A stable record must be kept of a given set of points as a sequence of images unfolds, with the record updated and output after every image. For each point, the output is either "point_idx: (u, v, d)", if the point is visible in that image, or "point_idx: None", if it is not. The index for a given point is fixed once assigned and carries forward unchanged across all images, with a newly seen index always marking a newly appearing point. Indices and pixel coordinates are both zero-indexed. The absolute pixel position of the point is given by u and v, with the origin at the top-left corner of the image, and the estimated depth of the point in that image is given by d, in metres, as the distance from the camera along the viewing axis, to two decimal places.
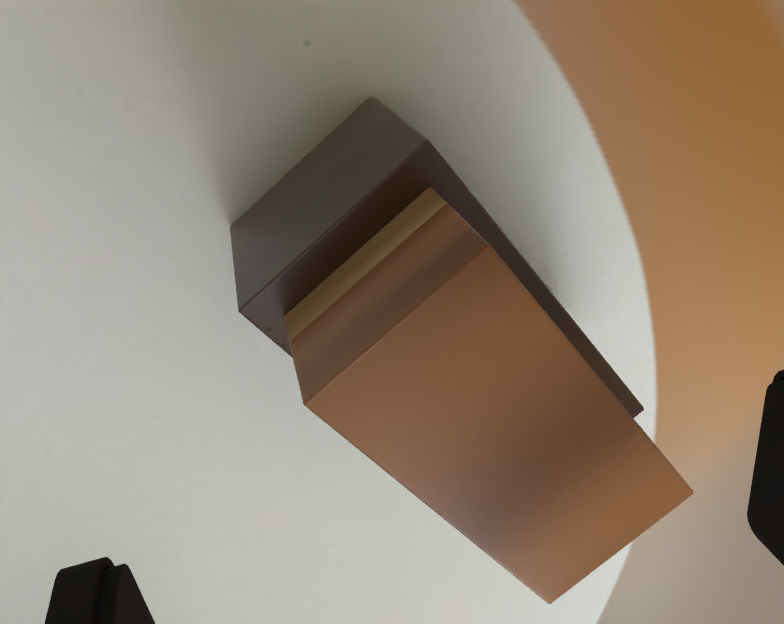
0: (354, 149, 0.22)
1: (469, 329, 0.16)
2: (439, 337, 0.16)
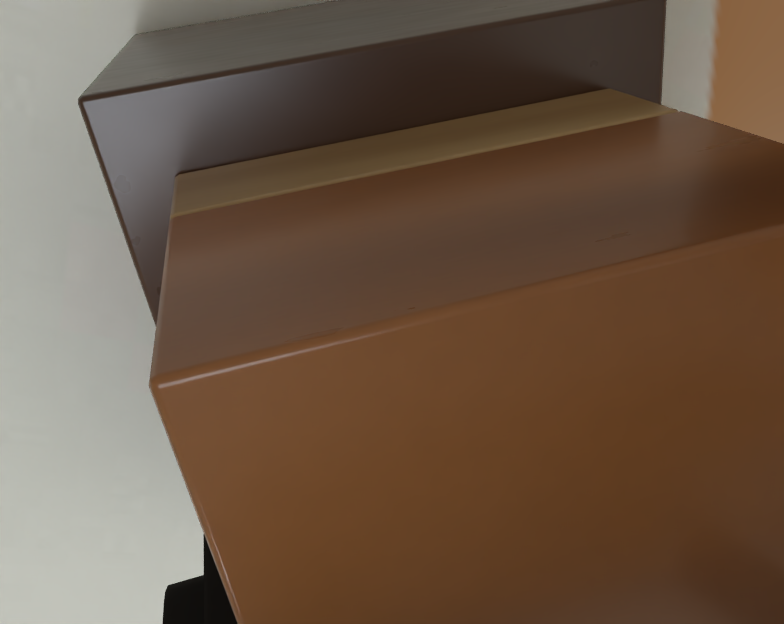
0: None
1: (723, 403, 0.05)
2: (650, 384, 0.05)
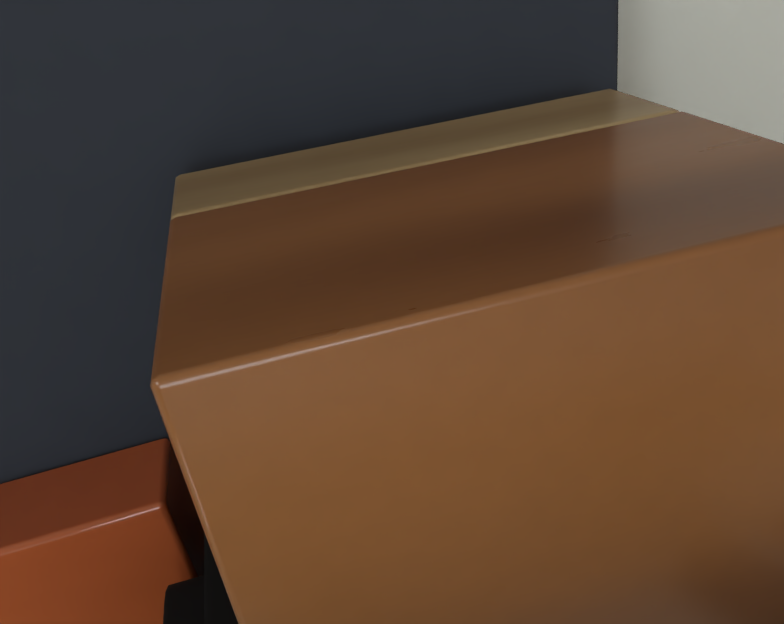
0: None
1: (724, 404, 0.05)
2: (652, 384, 0.05)
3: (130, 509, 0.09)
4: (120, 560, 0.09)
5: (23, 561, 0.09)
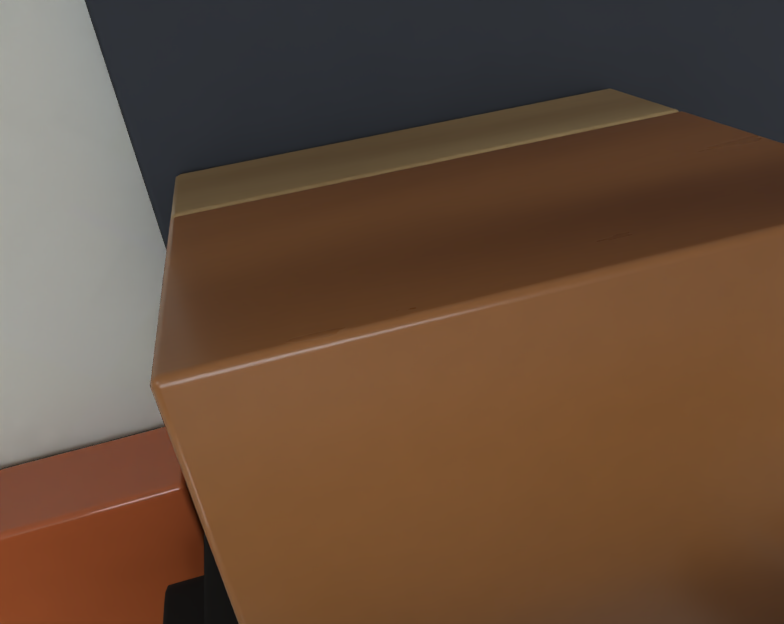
0: None
1: (724, 403, 0.05)
2: (652, 384, 0.05)
3: (151, 489, 0.09)
4: (140, 539, 0.09)
5: (46, 538, 0.09)
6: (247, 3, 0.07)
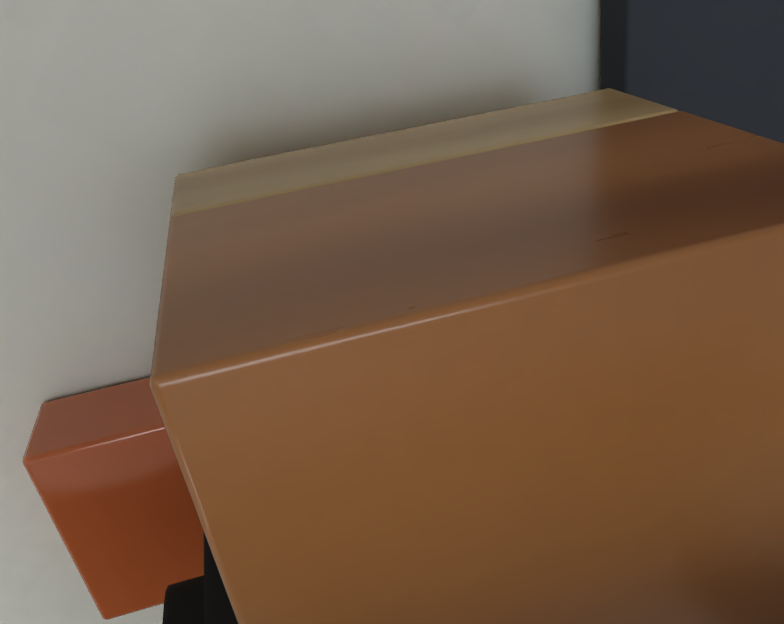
0: None
1: (723, 402, 0.05)
2: (652, 384, 0.05)
3: None
4: None
5: (144, 444, 0.10)
6: None
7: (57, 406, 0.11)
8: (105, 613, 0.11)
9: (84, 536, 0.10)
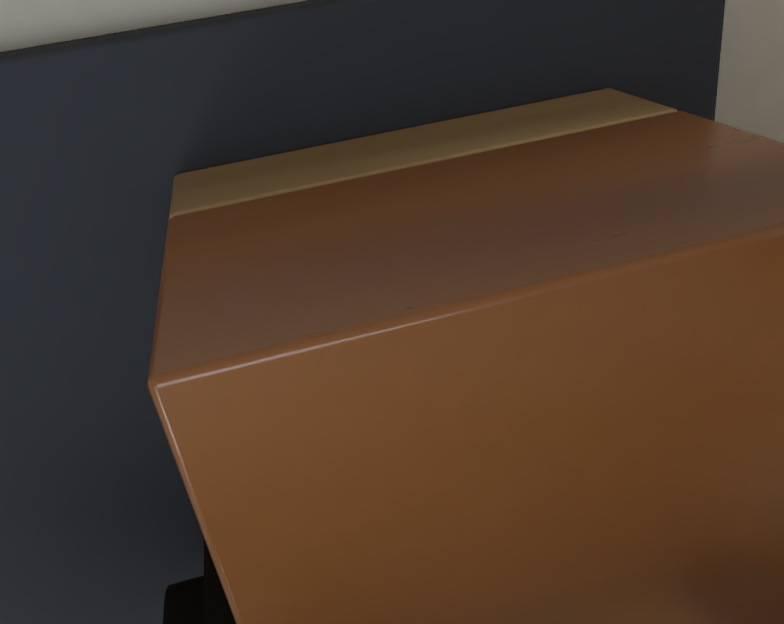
0: None
1: (722, 402, 0.05)
2: (650, 385, 0.05)
3: None
4: None
5: None
6: None
7: None
8: None
9: None
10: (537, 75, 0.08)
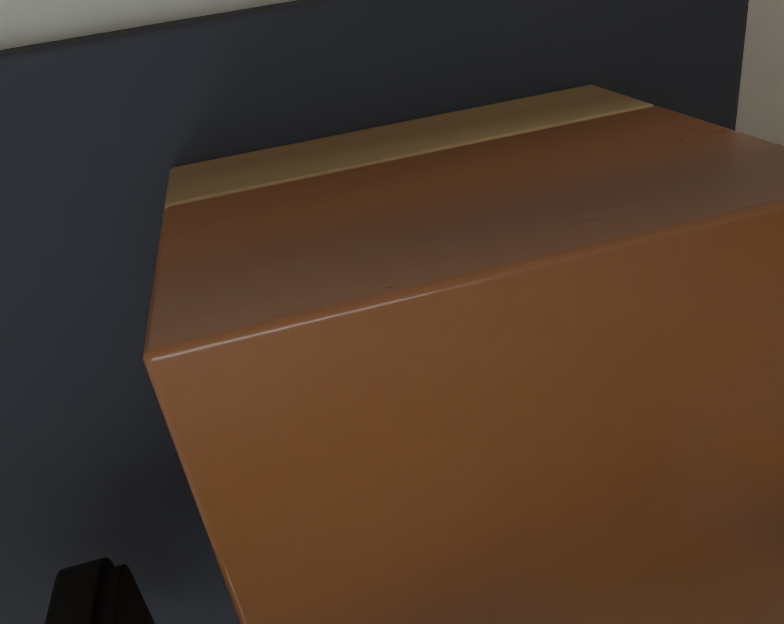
0: None
1: (689, 380, 0.06)
2: (618, 362, 0.05)
3: None
4: None
5: None
6: None
7: None
8: None
9: None
10: (571, 62, 0.09)
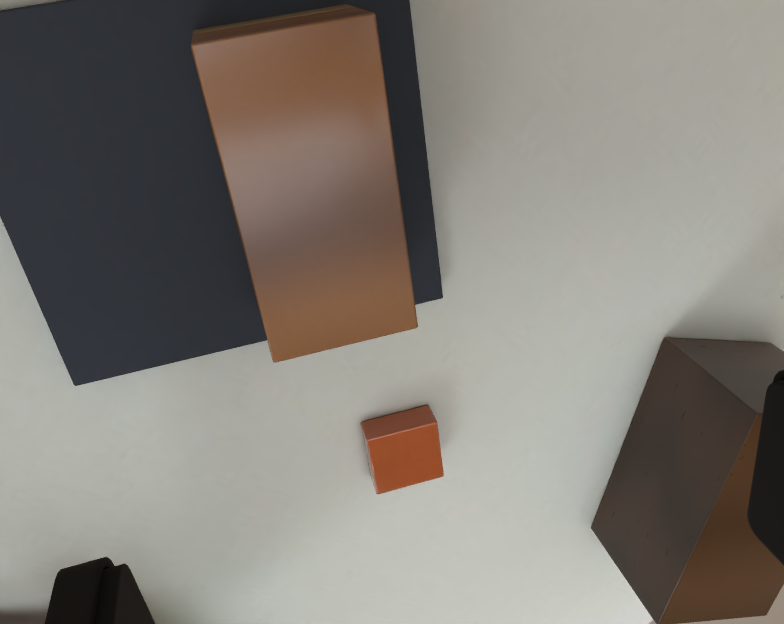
0: None
1: (332, 69, 0.21)
2: (310, 61, 0.21)
3: (367, 446, 0.33)
4: (383, 449, 0.33)
5: (377, 468, 0.33)
6: (208, 319, 0.29)
7: (370, 474, 0.35)
8: (440, 476, 0.35)
9: (407, 481, 0.34)
10: None
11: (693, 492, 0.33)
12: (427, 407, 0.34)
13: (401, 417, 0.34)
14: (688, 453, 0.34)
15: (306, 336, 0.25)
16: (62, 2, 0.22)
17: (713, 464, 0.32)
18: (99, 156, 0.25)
